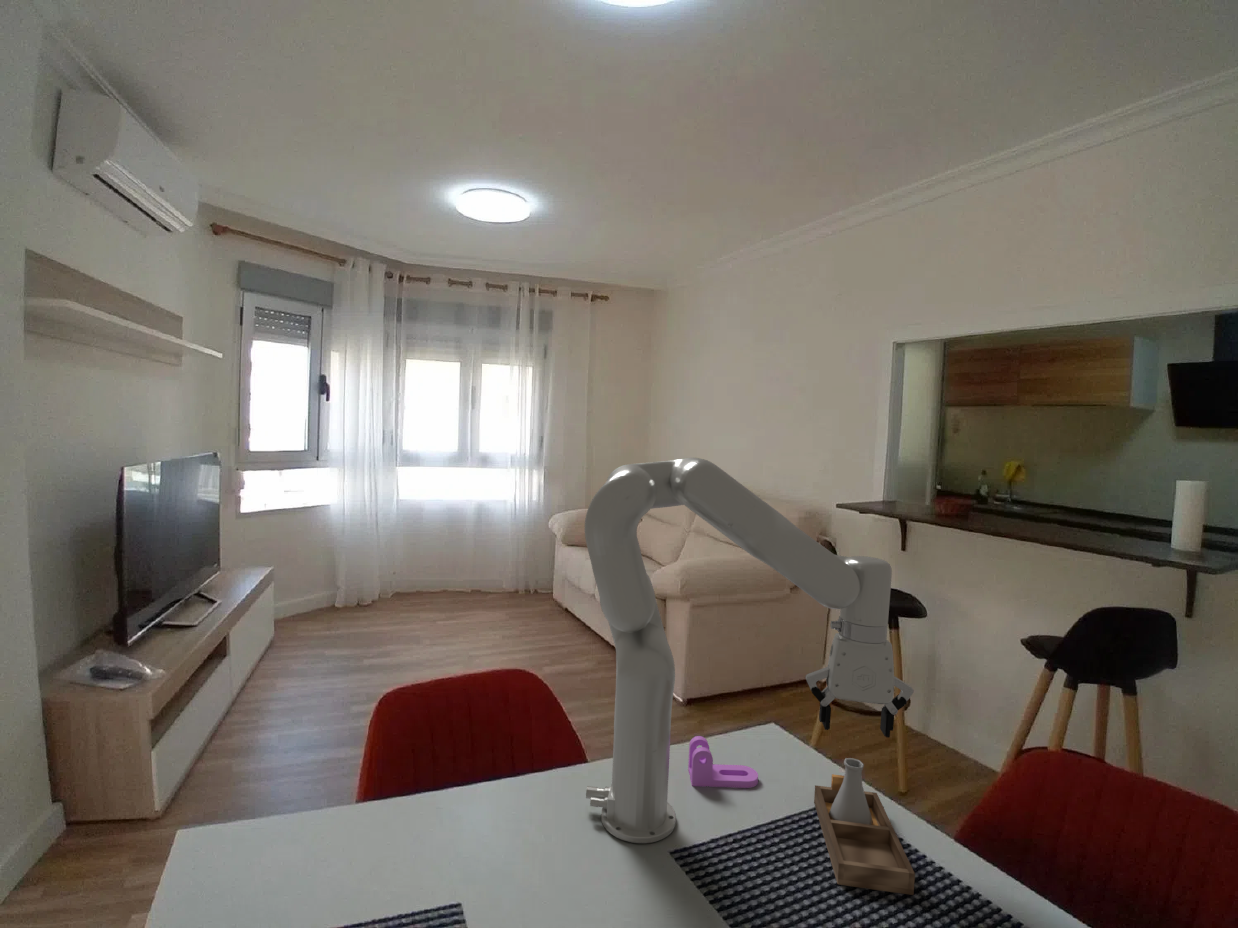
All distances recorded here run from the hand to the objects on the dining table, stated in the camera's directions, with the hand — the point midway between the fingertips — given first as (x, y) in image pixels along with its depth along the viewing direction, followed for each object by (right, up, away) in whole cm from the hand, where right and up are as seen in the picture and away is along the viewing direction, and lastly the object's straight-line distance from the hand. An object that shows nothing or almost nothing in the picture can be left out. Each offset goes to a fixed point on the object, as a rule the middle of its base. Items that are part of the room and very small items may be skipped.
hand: (854, 729), depth 103 cm
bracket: (-20, -16, +13) cm, 29 cm away
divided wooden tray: (-1, -17, -4) cm, 17 cm away
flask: (-1, -16, +1) cm, 16 cm away
